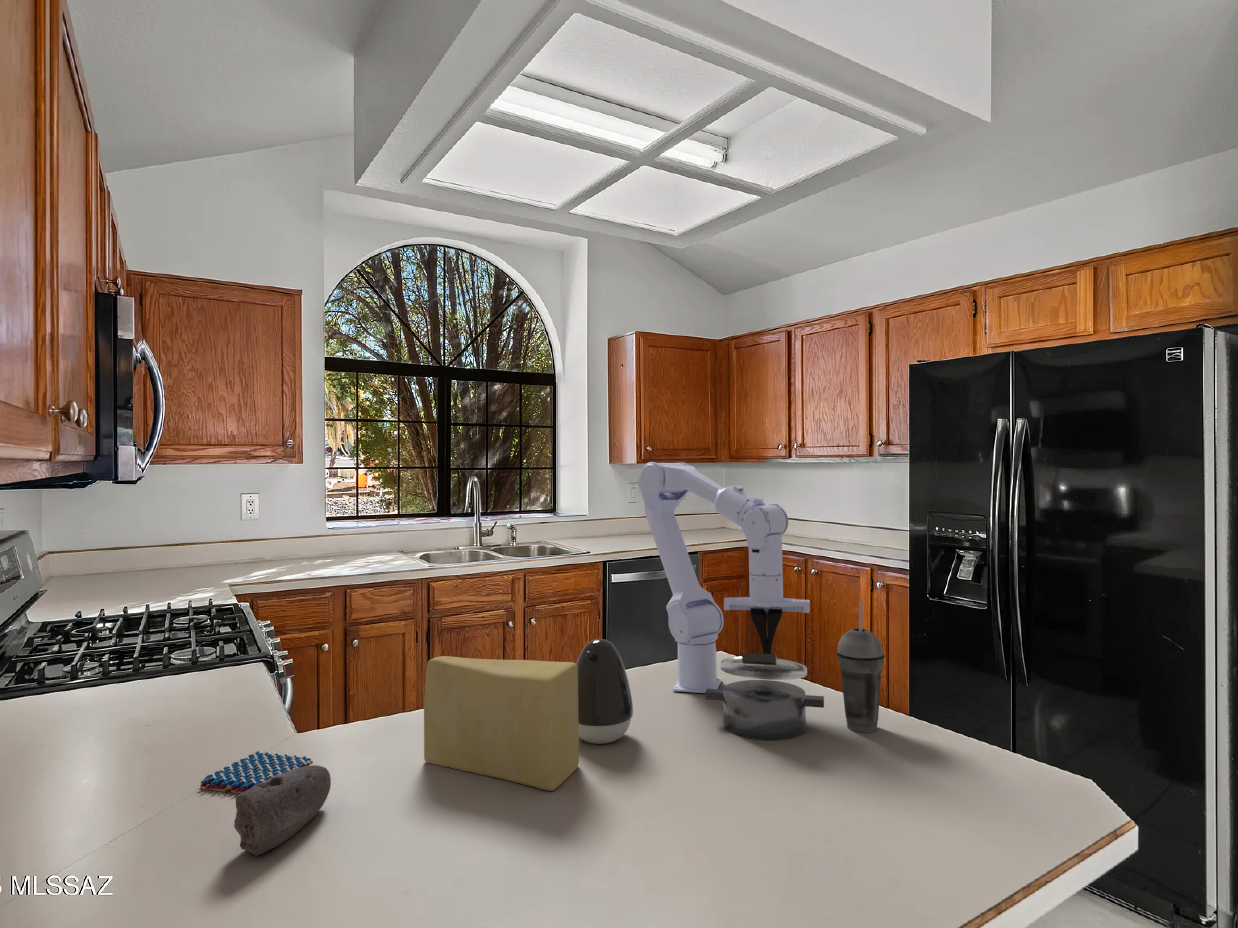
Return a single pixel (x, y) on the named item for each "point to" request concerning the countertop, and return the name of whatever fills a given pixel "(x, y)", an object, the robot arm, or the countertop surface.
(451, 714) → the cheese
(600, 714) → the black white egg shape
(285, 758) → the woven mat
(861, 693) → the beverage cup
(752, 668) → the cooker lid
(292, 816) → the perforated stone tool
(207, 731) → the countertop surface
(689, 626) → the robot arm
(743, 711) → the cooker pot
